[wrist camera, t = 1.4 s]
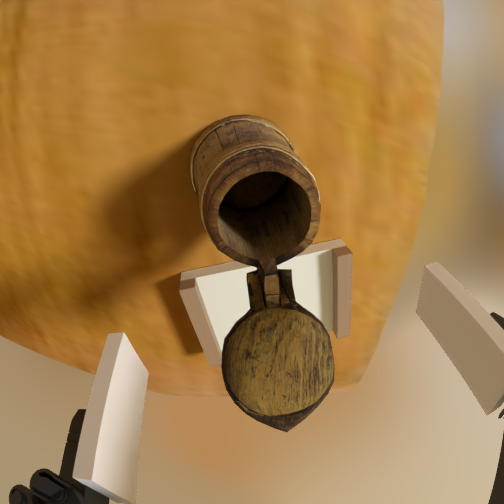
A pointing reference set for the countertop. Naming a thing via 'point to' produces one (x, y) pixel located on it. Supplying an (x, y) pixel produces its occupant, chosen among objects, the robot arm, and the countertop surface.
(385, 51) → the countertop surface
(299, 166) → the wooden mug
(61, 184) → the countertop surface
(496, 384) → the robot arm
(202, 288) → the ledge board
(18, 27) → the countertop surface
